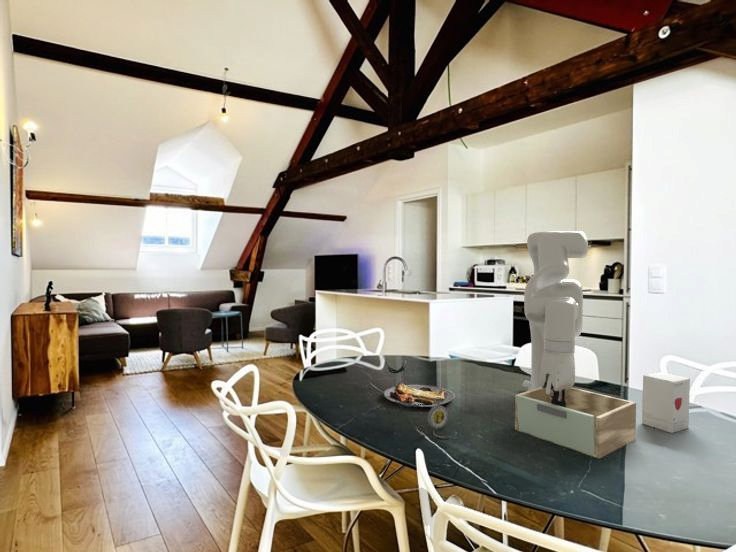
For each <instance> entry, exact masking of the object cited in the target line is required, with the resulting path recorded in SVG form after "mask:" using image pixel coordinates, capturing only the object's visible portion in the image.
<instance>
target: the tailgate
mask: <svg viewBox="0 0 736 552" xmlns="http://www.w3.org/2000/svg"><path fill="white" fill-rule="evenodd" d="M516 395H517V394H516ZM517 410H518V425H519V430H520V431H523V432H526V433H529V434H532V435H534V436H533V437H535V436H537V437H536V438H538V437H540V438H539V439H541V438H543V439H542V440H544V439H546V440H549V441H552V442H555V443H558V444H561V445H564V446H566V447H565V448H567V447H569V448H568V449H570V448H572V449H575V450H578V451H581V452H584V453H587V454H590V455H593V456H595V425H594V415H591V414H587V413H584V412H580V411H576V410H573V409H569V408H565V407H562V406H558V405H554V404H551V403H547V402H543V401H540V400H536V399H532V398H529V397H525V396H521V395H517ZM520 431H519V432H520ZM523 432H522V433H523ZM526 433H525V434H526ZM529 434H528V435H529ZM532 435H531V436H532ZM546 440H545V441H546ZM549 441H548V442H549ZM552 442H551V443H552ZM555 443H554V444H555ZM558 444H557V445H558ZM561 445H560V446H561ZM564 446H563V447H564ZM572 449H571V450H572ZM575 450H574V451H575ZM578 451H577V452H578ZM581 452H580V453H581ZM584 453H583V454H584ZM587 454H586V455H587ZM590 455H589V456H590ZM593 456H592V457H593Z"/></svg>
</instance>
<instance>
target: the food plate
mask: <svg viewBox="0 0 736 552" xmlns="http://www.w3.org/2000/svg"><path fill="white" fill-rule="evenodd" d="M382 393H383V397H384V399H387V400H389V401H390V402H394V403H397V404H400V405H402V406H403V407H406V408H408V407H414V408H417V407H420V408H423V407H424V408H428V407H429V408H433V407H434V406H437V403H435V402H437V401H438V400H440V401H441V399H442V401H441V402H440V404H439V405H444V404H447V403H450V402H451V401H453V400H454V399H455V398H456V395H455V393H454V392H453V391H451V390H449V389H446V388H443V387H441V386H436V385H429V384H428V385H427V384H404V383H403V382H398V384H397V386H391V387H389V388H386V389H385V390H384V391H383V392H382ZM436 397H440V398H441V399H440V398H436ZM435 398H436V399H435ZM434 399H435V402H434ZM424 403H425V404H424ZM414 404H416V405H414ZM418 404H419V405H418ZM420 404H421V405H420ZM431 404H432V405H431Z"/></svg>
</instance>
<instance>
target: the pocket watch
mask: <svg viewBox="0 0 736 552" xmlns="http://www.w3.org/2000/svg"><path fill="white" fill-rule="evenodd" d="M436 398H440V397H436ZM436 398H435V399H436ZM435 399H434V402H435ZM440 399H441V398H440ZM441 402H442V399H441V400H440V401H439V400H438V401H437V402H435V403H437V406H434V407H431V408H430V410H429V412H428V414H427V422H428V425H429V426H430V427H431V428H433V429H434V430H433V431H432V434H433V436H434V437H436V438H438V439H442V440H449V438H450V437H452V435H451V436H448V437H447V436H443V435H441V434H438V433H436V432H435V431H437V430H440V429H443V427H445V425H447V422H448V420H449V411H448V410H447V408H446V407H444V406H443V405H441V404H440V403H441ZM446 429H449V428H446ZM454 432H455V435H454V436H456V435H457V434H458V433H457V432H456V431H455V430H454Z"/></svg>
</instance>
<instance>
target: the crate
mask: <svg viewBox="0 0 736 552" xmlns="http://www.w3.org/2000/svg"><path fill="white" fill-rule="evenodd" d="M517 395H521V396H525V397H529V398H532V399H536V400H540V401H543V402H547V403H551V399H550V396H549V395H546V388H541V387H540V388H537V389H533V390H530V391H528V390H526V391H525V392H520V393H517V394H515V397H514V398H515V401H514V402H515V404H514V405H515V406H514V409H515V410H514V411H515V412H514V416H515V417H514V430H516V431H518V432H521V433H524V434H526V435H529V436H532V437H535V438H538V439H540V440H544V441H547V442H550V443H551V444H552V443H553V444H556V445H559V446H561V447H564V448H566V449H570V450H573V451H576V452H579V453H581V454H584V455H587V456H589V457H593V458H596V459H598V460H599V459H601V458H603V457H605V456H607V455H609V454H611V453H613V452H615V451H617V450H618V449H620V448H622V447H624V446H626V445H627V444H629V443H631V442H632V441H634V440H636V432H637V431H636V430H637V429H636V424H637V402H635V401H632V400H627V399H623V398H618V397H614V396H610V395H605V394H601V393H597V392H592V391H588V390H585V389H580V388H575V387H573V386H571V389H570V390H569V391H568V392H567V399H566V408H569V409H573V410H576V411H580V412H584V413H587V414H591V415H594V425H595V456H593V455H590V454H587V453H584V452H581V451H578V450H575V449H572V448H569V447H566V446H564V445H561V444H558V443H555V442H552V441H549V440H546V439H543V438H540V437H537V436H534V435H532V434H529V433H526V432H523V431H520V430H519V425H518V410H517Z"/></svg>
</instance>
